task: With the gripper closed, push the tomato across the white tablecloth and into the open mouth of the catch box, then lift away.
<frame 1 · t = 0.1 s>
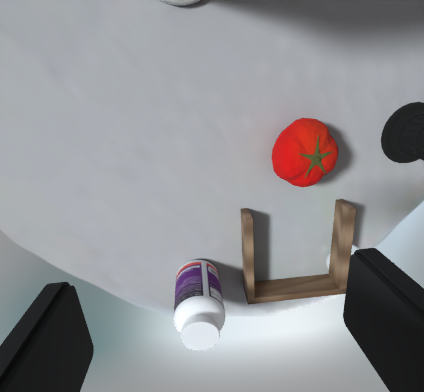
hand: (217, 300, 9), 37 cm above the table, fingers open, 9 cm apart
catch box: (290, 243, 52), on the table
handle grip: (409, 133, 46), on the table
tomato: (293, 147, 46), on the table
pill bottle: (197, 274, 53), on the table
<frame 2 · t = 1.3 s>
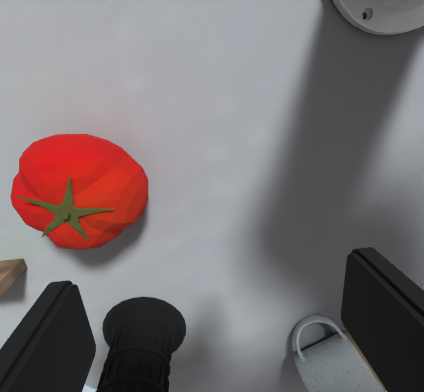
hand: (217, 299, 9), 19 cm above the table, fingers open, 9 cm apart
handle grip: (145, 328, 34), on the table
tomato: (101, 175, 27), on the table
ceramic mug: (318, 340, 37), on the table
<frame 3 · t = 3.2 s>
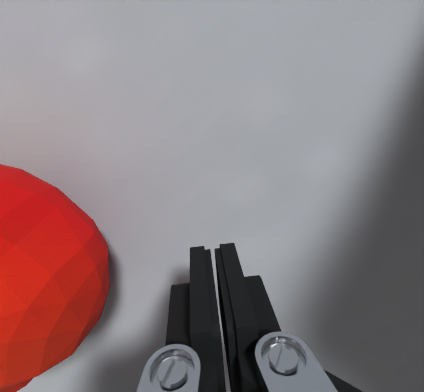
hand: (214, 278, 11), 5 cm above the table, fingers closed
tomato: (33, 225, 15), on the table
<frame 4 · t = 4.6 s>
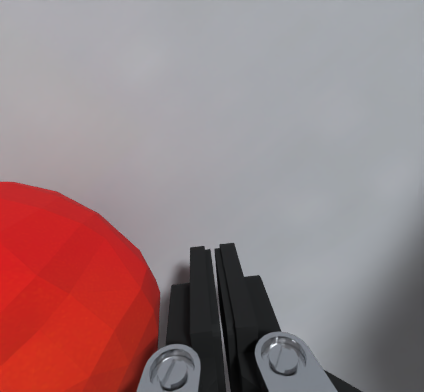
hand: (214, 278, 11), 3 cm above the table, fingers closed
tomato: (59, 252, 13), on the table, touching gripper
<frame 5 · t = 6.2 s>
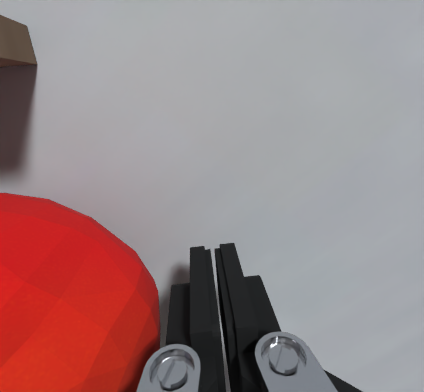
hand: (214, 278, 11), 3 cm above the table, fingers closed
tomato: (60, 259, 13), on the table, touching gripper
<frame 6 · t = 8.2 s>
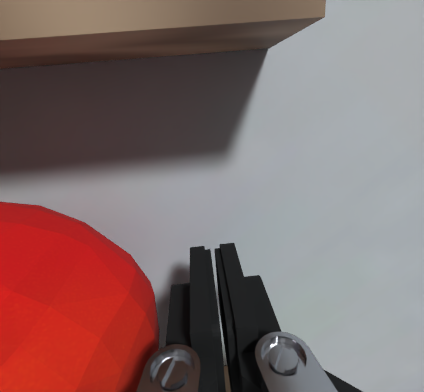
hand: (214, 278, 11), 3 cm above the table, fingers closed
catch box: (97, 256, 13), on the table
tomato: (58, 266, 13), on the table, touching gripper
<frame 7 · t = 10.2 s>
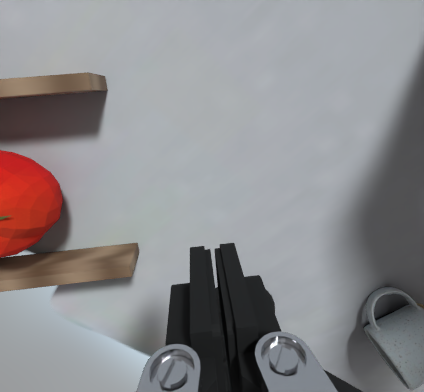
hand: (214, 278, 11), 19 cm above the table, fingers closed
catch box: (43, 182, 28), on the table
handle grip: (236, 312, 36), on the table
tomato: (25, 186, 28), on the table
ceramic mug: (385, 313, 38), on the table
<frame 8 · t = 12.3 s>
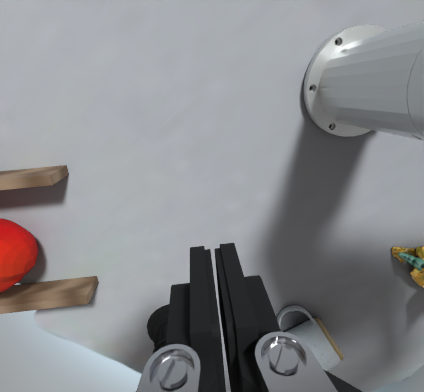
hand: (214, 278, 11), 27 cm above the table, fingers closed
catch box: (25, 234, 38), on the table
handle grip: (177, 326, 46), on the table
tomato: (12, 237, 39), on the table
ceramic mug: (296, 325, 48), on the table
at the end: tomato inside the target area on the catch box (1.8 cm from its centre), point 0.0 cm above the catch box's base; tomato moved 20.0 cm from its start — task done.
